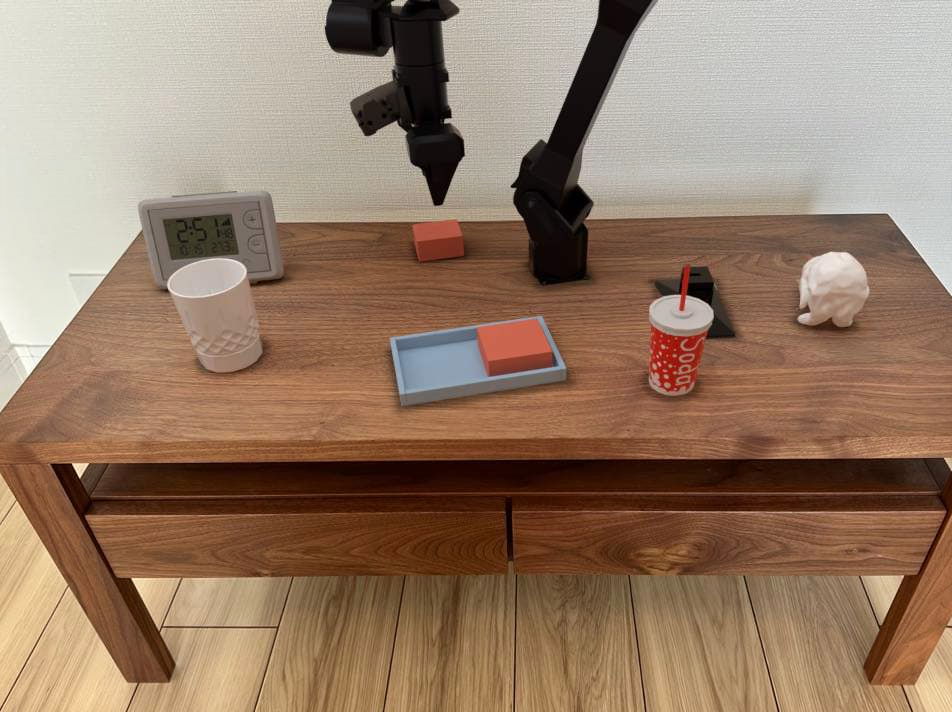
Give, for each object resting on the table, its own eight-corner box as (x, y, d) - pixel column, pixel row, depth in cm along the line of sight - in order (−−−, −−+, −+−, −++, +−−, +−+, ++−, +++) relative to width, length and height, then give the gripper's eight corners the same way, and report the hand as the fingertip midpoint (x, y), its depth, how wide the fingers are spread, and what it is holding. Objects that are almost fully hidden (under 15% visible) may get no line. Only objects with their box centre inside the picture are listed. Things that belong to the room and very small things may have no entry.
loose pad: (458, 238, 104) (456, 218, 102) (464, 256, 100) (462, 235, 99) (414, 244, 103) (412, 224, 101) (419, 262, 100) (417, 241, 98)
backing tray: (541, 330, 87) (541, 315, 85) (566, 383, 79) (566, 368, 78) (391, 352, 84) (389, 337, 83) (402, 409, 76) (399, 394, 75)
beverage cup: (646, 405, 76) (661, 283, 67) (636, 368, 81) (648, 250, 72) (707, 402, 76) (729, 281, 67) (693, 365, 81) (713, 247, 72)
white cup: (248, 380, 81) (223, 300, 74) (181, 373, 82) (151, 293, 76) (280, 338, 87) (259, 261, 80) (217, 332, 88) (192, 255, 82)
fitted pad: (537, 336, 85) (537, 318, 83) (552, 370, 80) (552, 351, 78) (477, 345, 84) (476, 327, 82) (489, 380, 79) (488, 361, 77)
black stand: (654, 282, 94) (658, 249, 91) (712, 281, 94) (718, 247, 91) (672, 339, 85) (677, 303, 82) (738, 337, 85) (745, 301, 82)
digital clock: (150, 293, 95) (120, 215, 88) (179, 258, 102) (153, 182, 95) (276, 295, 94) (256, 215, 87) (296, 259, 101) (279, 183, 94)
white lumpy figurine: (817, 265, 79) (797, 223, 89) (800, 337, 84) (783, 289, 94) (880, 268, 78) (853, 225, 88) (860, 340, 83) (836, 292, 93)
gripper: (343, 45, 92) (363, 169, 102) (354, 92, 78) (375, 231, 88) (434, 36, 94) (444, 159, 104) (460, 81, 80) (470, 218, 90)
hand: (432, 190), depth 96 cm, fingers open, 9 cm apart
